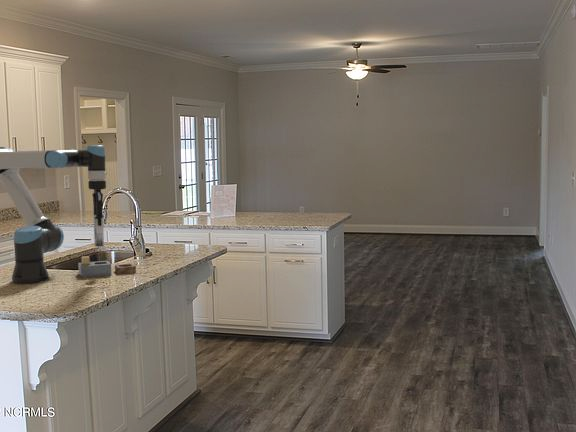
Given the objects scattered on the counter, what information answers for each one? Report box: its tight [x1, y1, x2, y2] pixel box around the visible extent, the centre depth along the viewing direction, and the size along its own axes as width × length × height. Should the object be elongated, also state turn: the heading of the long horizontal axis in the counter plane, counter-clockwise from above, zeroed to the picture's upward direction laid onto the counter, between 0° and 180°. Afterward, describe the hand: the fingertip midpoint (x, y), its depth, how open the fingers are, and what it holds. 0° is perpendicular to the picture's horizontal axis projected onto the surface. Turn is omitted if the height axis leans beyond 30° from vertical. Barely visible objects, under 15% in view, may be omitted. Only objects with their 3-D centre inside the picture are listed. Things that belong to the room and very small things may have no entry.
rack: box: [113, 263, 138, 276], centre depth 307 cm, size 9×9×4 cm
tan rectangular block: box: [81, 255, 91, 265], centre depth 300 cm, size 3×3×7 cm
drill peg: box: [93, 214, 105, 248], centre depth 301 cm, size 4×4×14 cm
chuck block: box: [77, 260, 113, 279], centre depth 301 cm, size 13×10×6 cm
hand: (98, 232), depth 301 cm, fingers closed on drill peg, 4 cm apart
